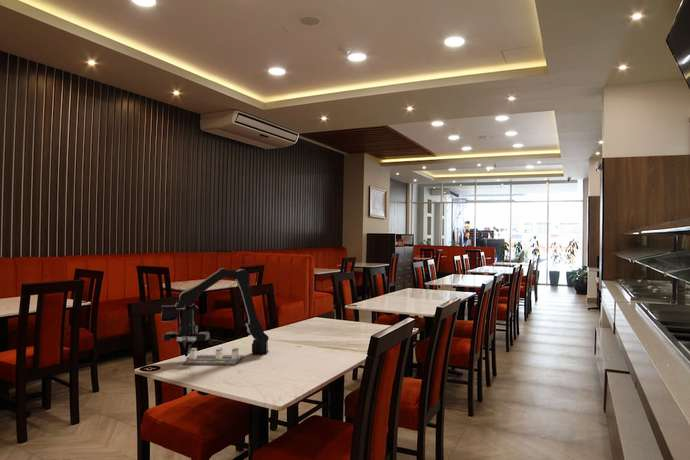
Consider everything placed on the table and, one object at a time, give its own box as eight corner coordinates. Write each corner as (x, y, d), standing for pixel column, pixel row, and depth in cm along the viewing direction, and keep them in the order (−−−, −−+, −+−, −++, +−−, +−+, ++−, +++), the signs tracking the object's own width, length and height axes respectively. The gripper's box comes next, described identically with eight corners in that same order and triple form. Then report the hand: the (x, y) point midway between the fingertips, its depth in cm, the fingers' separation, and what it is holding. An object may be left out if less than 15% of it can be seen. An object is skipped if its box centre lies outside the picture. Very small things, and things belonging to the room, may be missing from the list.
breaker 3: (238, 357, 199) (238, 348, 199) (236, 359, 196) (236, 350, 196) (233, 357, 199) (233, 348, 199) (231, 359, 196) (231, 350, 196)
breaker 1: (196, 357, 200) (196, 347, 200) (194, 359, 197) (194, 349, 197) (192, 357, 200) (192, 347, 200) (189, 359, 197) (189, 349, 197)
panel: (243, 357, 204) (243, 353, 204) (235, 365, 191) (235, 361, 191) (193, 356, 205) (193, 352, 205) (182, 364, 192) (182, 360, 192)
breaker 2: (222, 357, 200) (222, 348, 200) (220, 359, 196) (220, 350, 196) (217, 357, 200) (217, 348, 200) (215, 359, 196) (215, 350, 197)
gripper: (213, 316, 207) (214, 351, 206) (173, 316, 207) (173, 351, 207) (205, 321, 195) (205, 358, 195) (162, 321, 196) (162, 358, 196)
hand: (186, 356), depth 199 cm, fingers closed
